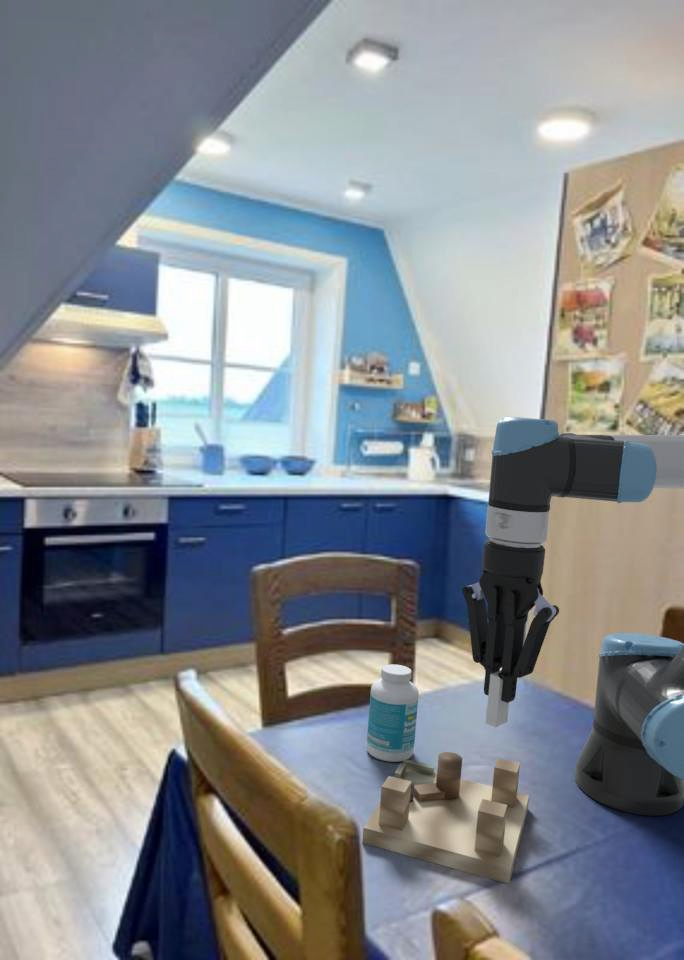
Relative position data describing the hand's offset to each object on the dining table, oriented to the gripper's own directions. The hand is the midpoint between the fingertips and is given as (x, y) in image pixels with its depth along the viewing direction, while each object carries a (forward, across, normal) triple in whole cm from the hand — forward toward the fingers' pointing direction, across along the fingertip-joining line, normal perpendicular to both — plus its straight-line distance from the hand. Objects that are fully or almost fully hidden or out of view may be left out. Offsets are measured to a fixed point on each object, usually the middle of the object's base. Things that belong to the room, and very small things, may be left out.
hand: (496, 722), depth 97 cm
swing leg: (+12, -7, -1) cm, 14 cm away
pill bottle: (+15, -22, +6) cm, 27 cm away
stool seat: (+15, -4, -3) cm, 15 cm away
